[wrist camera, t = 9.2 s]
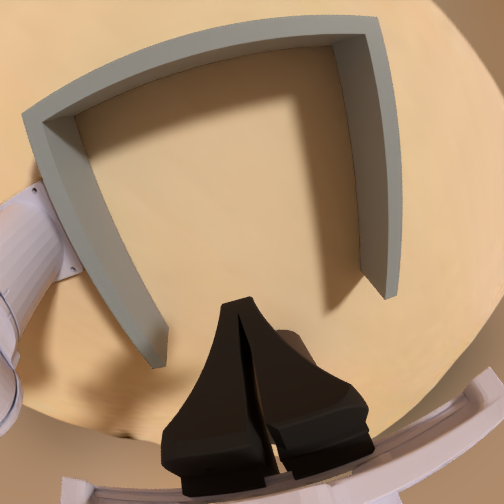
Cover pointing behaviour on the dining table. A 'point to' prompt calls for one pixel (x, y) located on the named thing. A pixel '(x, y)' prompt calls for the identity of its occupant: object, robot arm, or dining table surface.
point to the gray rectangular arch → (197, 54)
